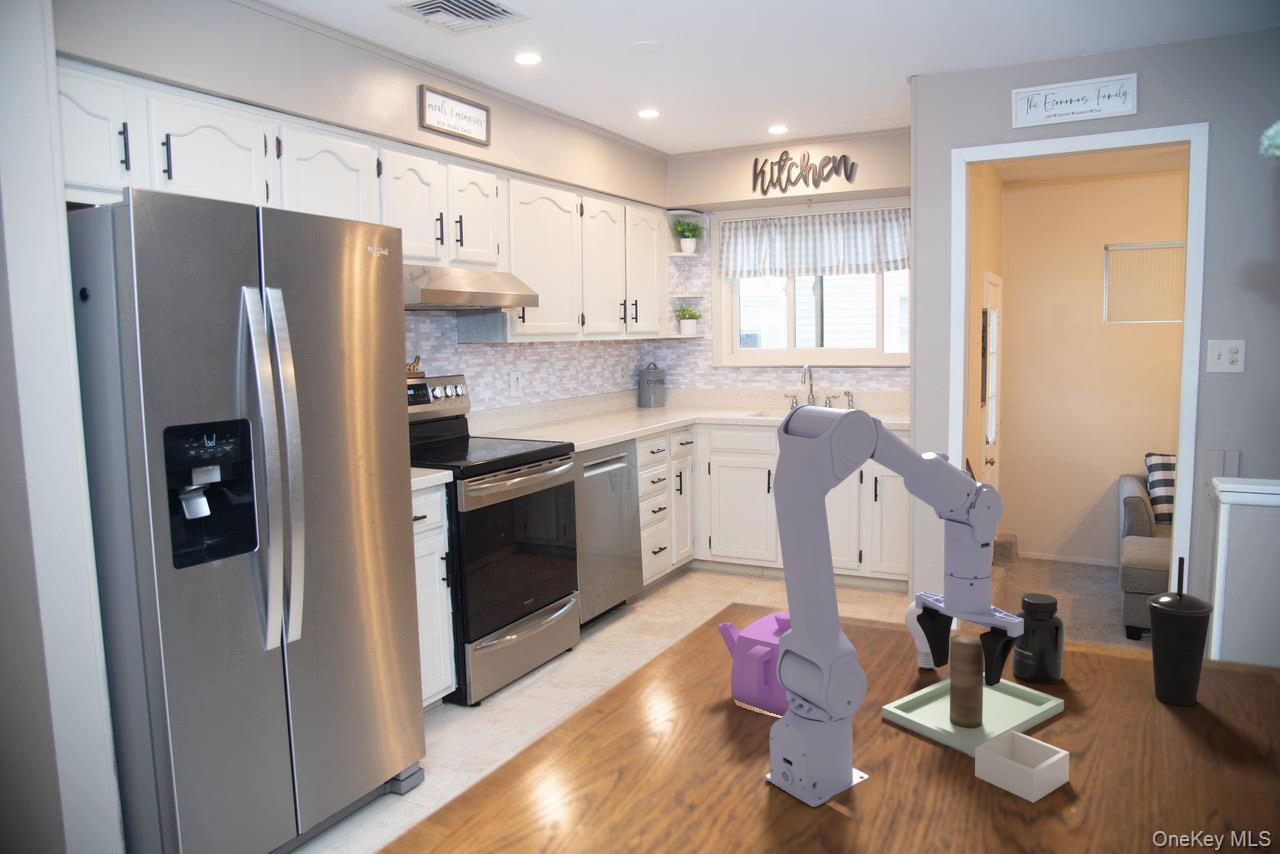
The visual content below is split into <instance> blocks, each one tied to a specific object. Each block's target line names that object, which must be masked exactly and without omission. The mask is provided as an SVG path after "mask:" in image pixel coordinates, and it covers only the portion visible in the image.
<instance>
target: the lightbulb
mask: <svg viewBox="0 0 1280 854" xmlns="http://www.w3.org/2000/svg"><path fill="white" fill-rule="evenodd" d="M922 611H923V609H918V608H915V600H913V601H912V602H910V604H909V605H908V606H907V608H906V610H905V612H904V613H905V614H904V623H905V625H906V628H907V630H908V632H909V633H910V634H911V636H912V638H913V639H914V640H913V641H914V645H915V647H916V649H917V651H916V652H917V655H916V656H917V662H916V664H917V665H918V666H919V667H920V668H922V669H924V670H930V669H933V668H935V667H934V663H933V659H932V655H931V651H930V648H929V644H928V642H927V639H926V637H925V634H924V632H923V630H922V629H921V627H920V625H919V624H918V622H917V615H918V614H921V613H922Z"/></svg>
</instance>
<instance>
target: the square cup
mask: <svg viewBox="0 0 1280 854" xmlns="http://www.w3.org/2000/svg"><path fill="white" fill-rule="evenodd" d="M1069 773H1070V752H1069V751H1067V750H1065V749H1061V748H1060V747H1057V746H1054V745H1052V744H1049V743H1047V742H1044V741H1042V740H1039V739H1037V738H1034V737H1032V736H1029V735H1026V734H1024V733H1019V732H1016V731H1014V730H1011V729H1010V730H1008V731H1007V732H1005V733H1003V734H1001V735H999V736H997V737H995V738H993V739H991V740H989V741H988V742H986V743H984V744H982V745H980V746H978V747H976V748H975V758H974V777H976V778H978V779H980V780H983V781H985V782H987V783H989V784H992V785H994V786H995V787H998V788H1000V789H1003V790H1004V791H1007V792H1010V793H1011V794H1013V795H1016V796H1018V797H1019V798H1022V799H1025V800H1026V801H1029V802H1031V803H1033V804H1034V803H1036V802H1037V801H1039V800H1040V799H1042V798H1044V797H1045V796H1047V795H1049V794H1050V793H1052V792H1053V791H1055V790H1056V789H1058V788H1060V787H1061V786H1063V785H1064V784H1067V783H1068V782H1069V776H1070V774H1069Z"/></svg>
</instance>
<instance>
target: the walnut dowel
mask: <svg viewBox="0 0 1280 854" xmlns="http://www.w3.org/2000/svg"><path fill="white" fill-rule="evenodd" d="M949 658H950V662H949V663H950V666H949V667H950V668H949V669H950V671H949V675H950V677H949V678H950V722H951V723H952V724H954V725H956V726H958V727H962V728H969V729H972V728H978V727H980V726H981V725H982V713H983V672H984V652H983V647H982V643H981V640H980V637H977V636H973V635H967V634H966V635H965V634H961V635H960V634H959V635H958V634H957V635H953V636H951V638H950V657H949Z"/></svg>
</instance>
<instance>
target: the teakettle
mask: <svg viewBox="0 0 1280 854" xmlns="http://www.w3.org/2000/svg"><path fill="white" fill-rule="evenodd" d="M717 629H718V631H719V633H720V635H721V637H722V639H723V642H724V643H725V646H726V648H727V650H728V651H729V654H730V655H731V658H732V665H731V673H730V674H731V675H730V691H731V695H732V699H733V698H734V699H735V700H737V701H739V702H742V703H745V704H747V705H750V706H753V707H756V708H759V709H762V710H764V711H767V712H769V713H773V714H776V715H780V716H784V714H785V713H786V712H787V710H788V708H789V705H790V704H789V701H788V700H787V699H786V689H785V688H783V687H782V686H781V685H780V683H779V681H778V679H777V675H776V665H777V661H778V657H779V651H780V649H779V638H780V637H781V636H782V635H783V634H784V633H785V632H787V631H788V630H789V629H791V622H790V614H789V611H788V612H787V611H785V612H783V611H782V612H780V611H775V612H771V613H769V614H768V615H767V614H766V615H764V616H763V617H760V618H759V619H757V620H755V621H754V622H752V623H750V624H749V625H748V626H746V627H745V628H743V629H742V630H741V631H739V630H738V629H737V628H736V627H735V626H734V624H733V623H732V622H723V623H720V624H718V625H717Z"/></svg>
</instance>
